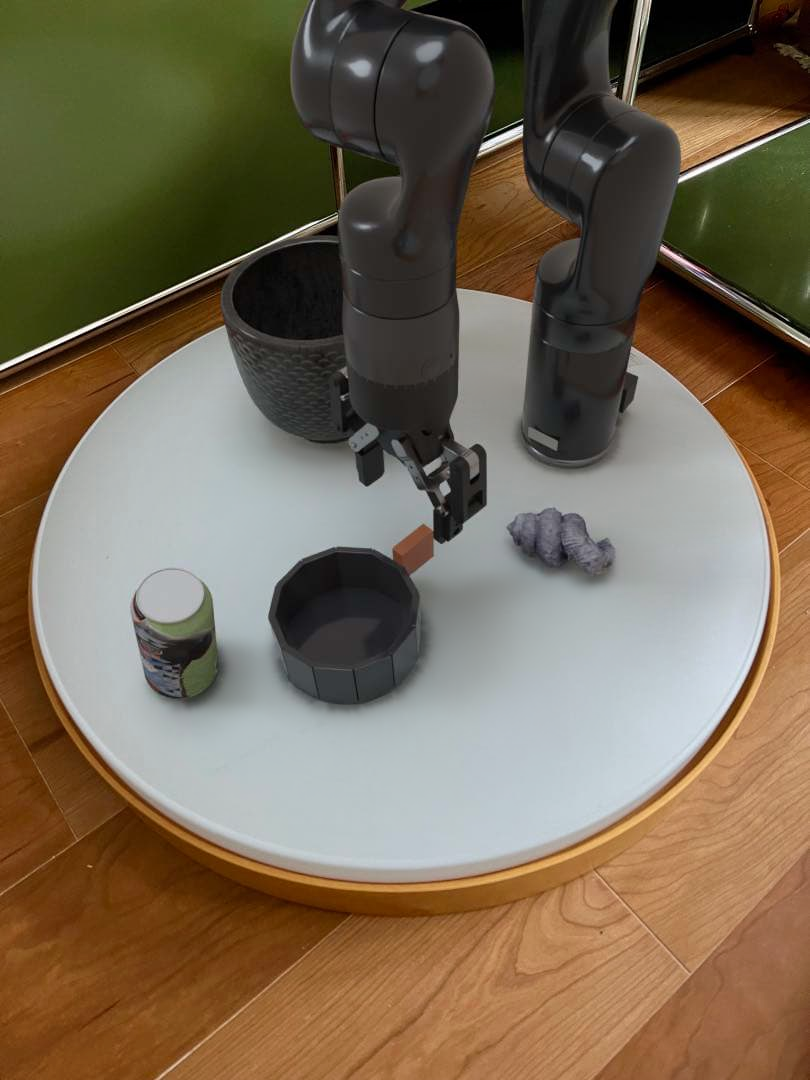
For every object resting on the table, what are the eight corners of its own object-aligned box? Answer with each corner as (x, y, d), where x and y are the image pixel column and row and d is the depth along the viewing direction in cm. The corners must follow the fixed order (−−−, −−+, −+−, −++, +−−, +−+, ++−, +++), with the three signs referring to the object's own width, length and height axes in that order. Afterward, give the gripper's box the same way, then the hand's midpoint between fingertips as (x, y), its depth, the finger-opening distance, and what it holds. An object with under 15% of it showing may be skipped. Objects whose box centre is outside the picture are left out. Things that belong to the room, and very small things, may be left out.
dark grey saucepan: (363, 538, 84) (357, 488, 78) (470, 597, 79) (472, 548, 74) (251, 657, 76) (235, 610, 71) (362, 730, 71) (355, 687, 66)
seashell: (612, 573, 82) (506, 550, 84) (624, 516, 80) (516, 495, 83) (608, 588, 77) (494, 563, 79) (620, 527, 75) (505, 504, 78)
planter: (299, 346, 102) (278, 219, 89) (438, 385, 97) (436, 256, 84) (218, 446, 92) (182, 319, 80) (368, 495, 87) (354, 368, 75)
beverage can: (152, 645, 77) (111, 561, 68) (237, 638, 77) (208, 552, 68) (145, 711, 73) (101, 630, 64) (235, 702, 73) (204, 621, 64)
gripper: (521, 366, 57) (506, 529, 69) (370, 275, 64) (381, 439, 76) (438, 425, 54) (438, 585, 66) (288, 322, 60) (314, 485, 73)
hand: (408, 506), depth 71 cm, fingers open, 8 cm apart
